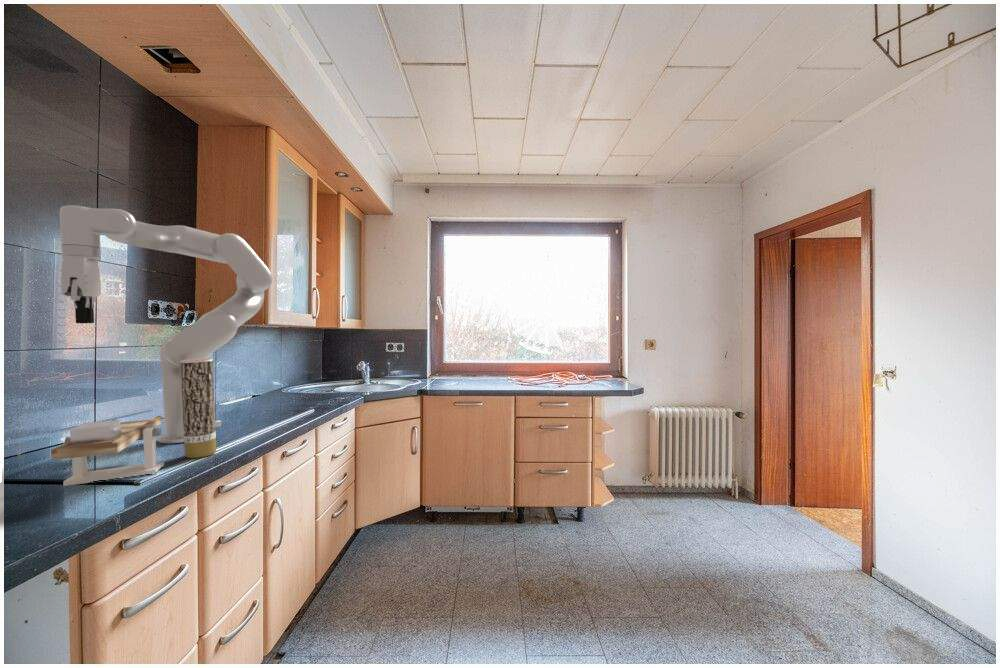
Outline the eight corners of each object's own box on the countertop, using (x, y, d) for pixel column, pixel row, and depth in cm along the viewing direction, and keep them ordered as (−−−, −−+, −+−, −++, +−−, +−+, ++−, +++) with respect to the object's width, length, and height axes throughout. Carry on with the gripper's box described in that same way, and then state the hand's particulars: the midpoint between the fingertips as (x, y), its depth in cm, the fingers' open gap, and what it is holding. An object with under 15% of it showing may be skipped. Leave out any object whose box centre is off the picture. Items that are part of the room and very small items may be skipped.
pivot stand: (75, 477, 98) (73, 433, 97) (165, 465, 104) (163, 424, 104) (61, 486, 92) (59, 439, 92) (157, 473, 99) (155, 430, 99)
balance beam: (113, 439, 109) (112, 418, 109) (162, 434, 113) (161, 414, 113) (52, 475, 83) (51, 447, 83) (118, 467, 87) (116, 441, 87)
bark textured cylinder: (188, 453, 114) (184, 359, 114) (218, 449, 117) (215, 357, 116) (181, 460, 108) (177, 361, 107) (213, 456, 111) (209, 359, 110)
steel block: (85, 441, 92) (84, 423, 91) (121, 438, 94) (120, 419, 94) (71, 449, 86) (69, 429, 86) (109, 445, 88) (108, 426, 88)
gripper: (77, 257, 120) (80, 323, 121) (46, 249, 106) (50, 323, 107) (111, 258, 123) (114, 323, 124) (86, 250, 109) (90, 322, 110)
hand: (85, 323), depth 115 cm, fingers closed
